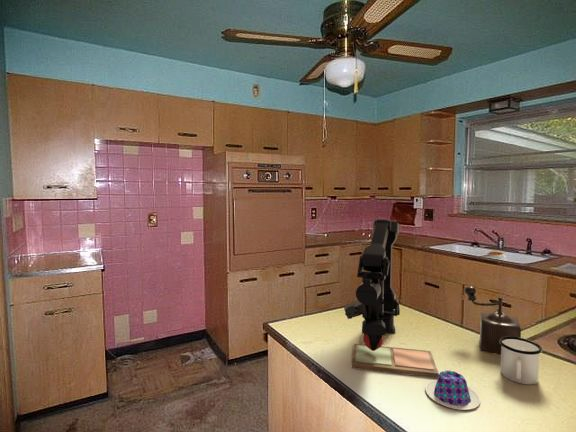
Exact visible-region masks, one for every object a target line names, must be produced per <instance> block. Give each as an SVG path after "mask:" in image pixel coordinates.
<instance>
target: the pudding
mask: <svg viewBox="0 0 576 432" xmlns="http://www.w3.org/2000/svg"><path fill="white" fill-rule="evenodd" d="M425 385H426V386H425V392H426V394H427V395H428V397H429V398H430V399H431V400H433V401H435V402H436V403H438V404H440V405H442V406H444V407H447V408H449V409H455V410H460V411H461V410H464V411H465V410H473V409H476V408H477V407H479V405H480V404H481V399H480V396H479V394H477V392H476V391H474V390H473V389H471V387H468V383H467V380H466V379H465V377H464V375H462V374H461V373H458V372H456V371H452V370H451V371H450V370H444V371H443V370H442V371H440V372H439V376H438V378H437V379H436V380H432V381H429V382H428V383H427V384H425ZM468 403H469V404H468Z"/></svg>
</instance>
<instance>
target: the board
mask: <svg viewBox="0 0 576 432" xmlns="http://www.w3.org/2000/svg"><path fill="white" fill-rule="evenodd" d="M351 369H358V370H367V371H373V372H375V371H376V372H385V373H390V374H391V373H393V374H399V375H400V374H402V375H410V376H418V377H428V378H434V379H435V378H437V379H438V376H439V374H440V372H439V370H438V368H437V365H436V363H435V360H434V357H433V354H432V351H431V350H424V349H414V348H403V347H393V346H385V345H384V346H383V345H381V347H380V348H378V349H377V350H375V351H372V350H370V349H369V348H368V347H367V346H366V345H365V343H364V344H362V343H353V349H352V357H351Z"/></svg>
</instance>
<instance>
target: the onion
mask: <svg viewBox="0 0 576 432" xmlns="http://www.w3.org/2000/svg"><path fill="white" fill-rule="evenodd" d="M362 337H363V343H364V345H366V346H367V347H368V348H369V349H370V350H371V346H370V341H369V337H368V334H363V336H362ZM383 344H384V336H382V338H381V340H380V342H379V344H378V346H377V348H376V350H377V349H378V348H380V347H381V346H383ZM372 351H373V350H372Z"/></svg>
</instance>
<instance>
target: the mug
mask: <svg viewBox="0 0 576 432" xmlns="http://www.w3.org/2000/svg"><path fill="white" fill-rule="evenodd" d="M499 343H500V345H501V355H500V368H499V369H500V373H501V375H502V376H503V377H505V378H506V379H508V380H510V381H512V382H515V383H518V384H522V385H536V384H537V383H538V382H539V376H540V375H539V372H540V370H539V369H540V354H541V353H542V352H543V348H542V346H541V345H540V344H538V343H537V342H535V341H533V340H531V339H528V338H525V337H521V338H520V337H513V336H506V337H502V338H500V339H499Z"/></svg>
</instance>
